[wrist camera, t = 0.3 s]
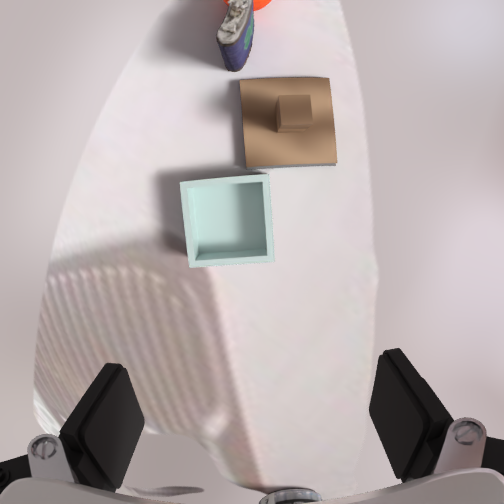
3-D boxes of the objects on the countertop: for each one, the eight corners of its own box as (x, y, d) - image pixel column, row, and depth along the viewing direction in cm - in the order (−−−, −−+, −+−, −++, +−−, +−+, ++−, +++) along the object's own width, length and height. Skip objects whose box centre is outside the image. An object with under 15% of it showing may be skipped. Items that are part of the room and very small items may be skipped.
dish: (187, 181, 37) (179, 182, 33) (267, 174, 36) (269, 173, 33) (195, 258, 39) (189, 267, 35) (272, 253, 39) (274, 261, 35)
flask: (237, 14, 31) (232, -29, 20) (259, 17, 31) (260, -26, 21) (222, 71, 33) (210, 37, 23) (244, 74, 33) (241, 40, 23)
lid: (239, 82, 33) (236, 63, 26) (327, 79, 33) (342, 62, 26) (246, 167, 36) (244, 165, 29) (335, 163, 35) (352, 161, 29)
